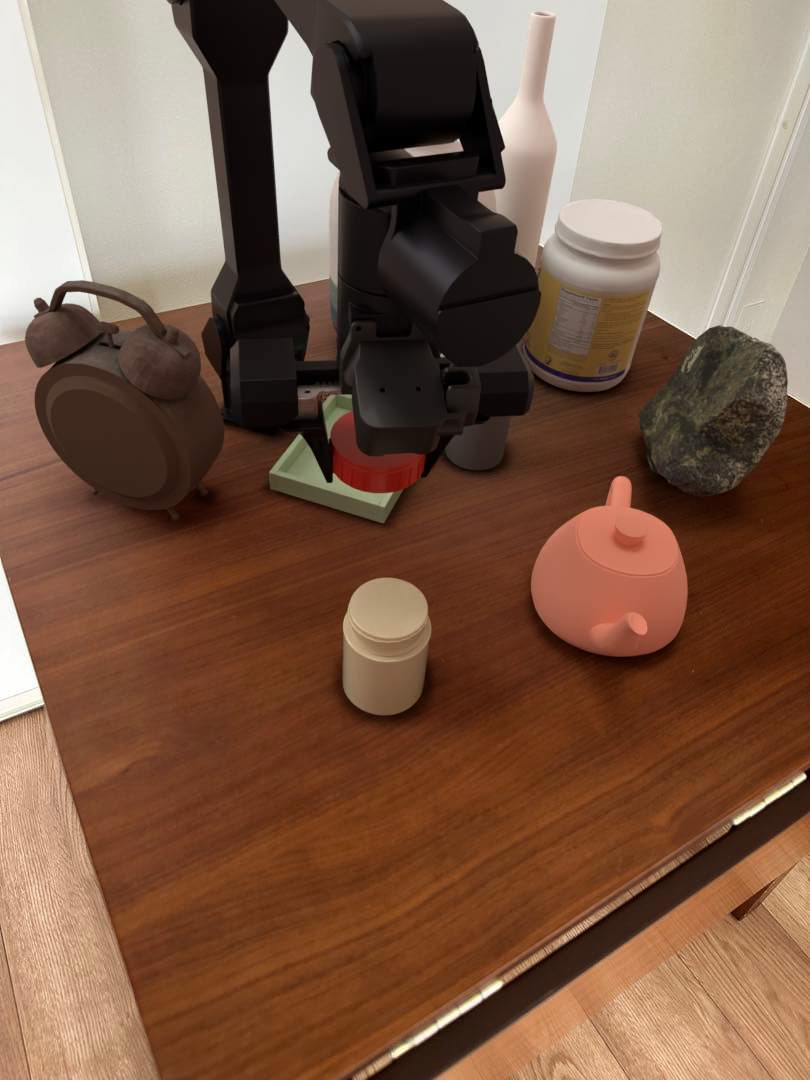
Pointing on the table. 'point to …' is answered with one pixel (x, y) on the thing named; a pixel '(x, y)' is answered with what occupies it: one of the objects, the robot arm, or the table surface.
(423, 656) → the jar
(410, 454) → the jar lid
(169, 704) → the table surface
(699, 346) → the stone
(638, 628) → the teapot
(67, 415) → the alarm clock
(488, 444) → the bottle
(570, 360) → the supplement tub
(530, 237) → the bottle
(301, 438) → the tray
